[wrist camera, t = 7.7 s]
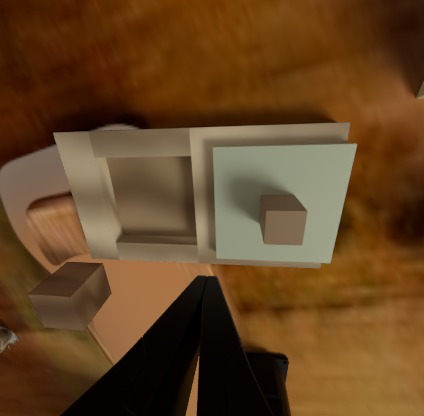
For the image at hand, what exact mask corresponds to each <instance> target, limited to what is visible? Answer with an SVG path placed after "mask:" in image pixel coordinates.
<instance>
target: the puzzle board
mask: <svg viewBox="0 0 424 416" xmlns="http://www.w3.org/2000/svg"><path fill="white" fill-rule="evenodd" d="M350 123H351V122H336V123H308V124H279V125H251V126H223V127H195V128H167V129H138V130H110V131H82V132H60V133H53V134H54V138H55V141H56V144H57V147H58V151H59V154H60V157H61V160H62V163H63V166H64V170H65V173H66V176H67V179H68V183H69V186H70V189H71V192H72V196H73V199H74V202H75V205H76V208H77V212H78V215H79V218H80V221H81V225H82V228H83V231H84V234H85V237H86V241H87V244H88V247H89V250H90V254H91V257H92V258H93V259H115V260H138V261H162V262H184V263H208V264H231V265H255V266H278V267H302V268H321V263H314V262H289V261H264V260H239V259H216V228H215V196H214V164H213V147H214V146H241V145H282V144H323V143H346V142H347V138H348V133H349V128H350Z"/></svg>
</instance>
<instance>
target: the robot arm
mask: <svg viewBox="0 0 424 416" xmlns="http://www.w3.org/2000/svg"><path fill="white" fill-rule="evenodd" d="M199 353H200V354H199ZM198 357H199V376H198V377H199V378H198V400H197V416H291V412H290V407H289V401H288V396H287V390H286V385H285V382H286V376H287V370H288V364H289V361H288V358H287V357H284V356H273V355H262V354H252V353H245V351H244V349H243V346H242V343H241V341H240V338H239V335H238V332H237V330H236V327H235V324H234V321H233V319H232V316H231V313H230V310H229V308H228V305H227V302H226V300H225V297H224V294H223V291H222V289H221V286H220V283H219V280H218V278H217V277H216V276H208V277H207V276H201V275H198V276H197V277H196V278H195V279H194V280H193V281H192V282H191V283H190V284H189V286H188V287H187V288H186V289H185V290H184V291H183V292H182V293H181V294H180V296H179V297H178V298H177V299H176V300H175V301H174V302H173V303H172V304H171V305H170V306H169V307H168V309H167V310H166V311H165V312H164V313H163V314H162V315H161V316H160V317H159V319H158V320H157V321H156V322H155V323H154V324H153V325H152V326H151V327H150V329H148V331H147V332H146V333H145V334H144V335H143V337H141V338H140V339H139V340H138V342H137V343H136V344H135V345H134V346H133V347H132V348H131V349H130V350H129V351H128V352H127V353H126V354H125V355H124V356H123V357H122V358H121V359H120V360H119V361H118V362H117V363H116V364H115V365H114V366H113V367H112V368H111V369H110V370H109V371H108V372H107V373H106V374H105V375H104V376H102V377H101V378H100V379H99V380H98V381H97V382H96V383H95V384H94V385H93V386H92V387H91V388H89V389H88V390H87V391H86V392H85V393H84V394H83V395H82V396H81V397H80V398H79V399H78V400H76V401H75V402H74V403H73V404H72V405H71V406H70V407H69V408H68V409H67V410H66V411H65V412H63V413H62V414H61V415H60V416H185V415H186V410H187V406H188V402H189V397H190V393H191V388H192V384H193V379H194V375H195V370H196V366H197V362H198Z"/></svg>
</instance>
